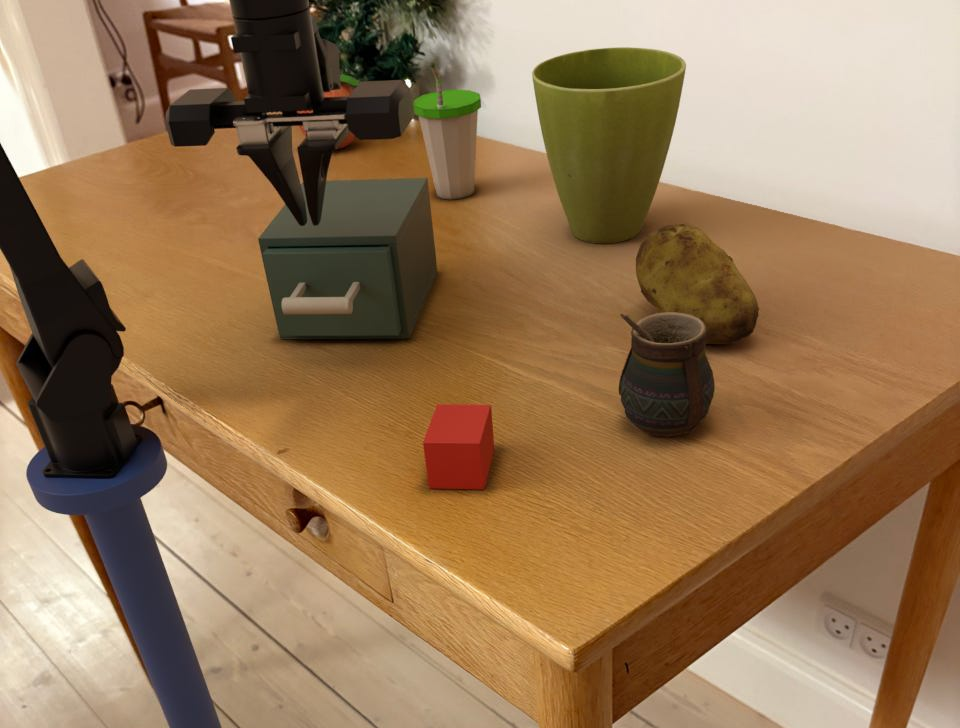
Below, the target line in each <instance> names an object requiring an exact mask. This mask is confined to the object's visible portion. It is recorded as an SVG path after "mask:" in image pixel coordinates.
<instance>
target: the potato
mask: <svg viewBox="0 0 960 728" xmlns="http://www.w3.org/2000/svg"><path fill="white" fill-rule="evenodd" d="M635 275H636V278H637V281H638V285H639V288H640V293H641V294H642V296H643V297H644V298H645V300H646V301H647V302H648V303H649V304H650V305H652V306H653V307H654V308H656V310H657V311H658V313H665V312H676V313H684V314H689V315H692V316H695V317H697V318H699V319H701V320H702V321H703V322H704V323H705V325H706V327H707V334H706V345H707V344H708V345H732V344H734V343H737V342H740V341H742V340H744V339H746V338H747V337H749V336H750V335H751V334H753V332H754V331H755V328H756V325H757V321H758V318H759V315H760V314H759V311H760V307H759V303H758V300H757V297H756V295H755V293H754V291H753V290H752V288H751V287H750V285H749V283H748V281H747V279H745V277H744V276H743V275H742V273H741V272H740V270H739V269H738V268H737V266H736V264H735V263H734V259H733V257H732V256H730V255H728V253H727V252H726V251H725V250H724V249H723V248H721V246H719V245H718V244H716V243H715V242H713V241H712V240H711V238H709V236H708V234H706V233H705V232H703V231H702V230H701V229H699V228H698V227H695V226H692V225H688V224H685V223H672V224H666V225H664V226H662V227H660V228H657V229H656V230H654V231H652V232H650V233H649V234H647V236H645V237H644V238H643V240H642V241H641V243H640V245H639V247H638V250H637V254H636V256H635Z"/></svg>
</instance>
